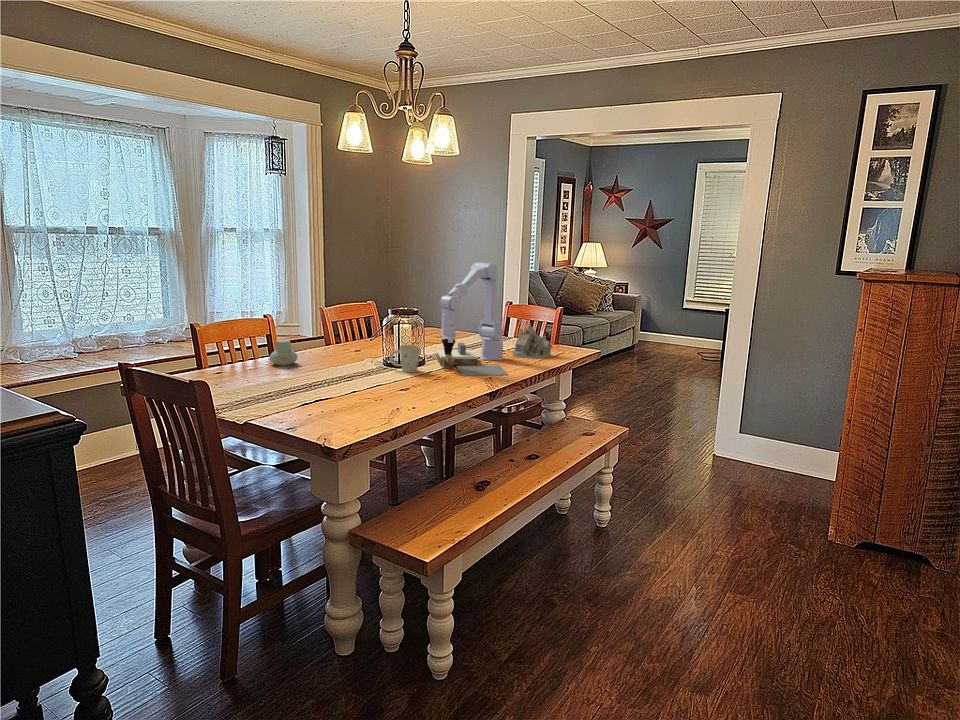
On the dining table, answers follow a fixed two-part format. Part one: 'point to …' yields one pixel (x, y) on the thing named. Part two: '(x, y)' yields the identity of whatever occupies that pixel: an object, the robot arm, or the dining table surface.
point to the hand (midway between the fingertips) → (447, 356)
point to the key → (449, 358)
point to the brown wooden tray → (456, 362)
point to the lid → (460, 353)
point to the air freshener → (283, 353)
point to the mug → (407, 357)
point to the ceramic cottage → (531, 345)
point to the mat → (480, 370)
